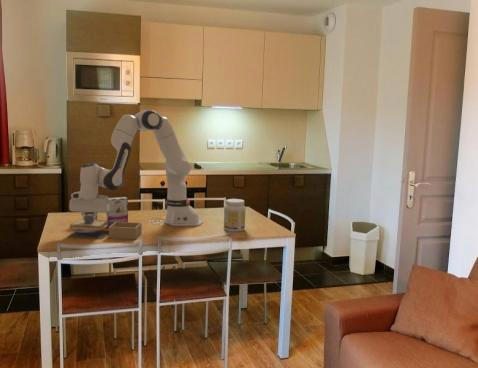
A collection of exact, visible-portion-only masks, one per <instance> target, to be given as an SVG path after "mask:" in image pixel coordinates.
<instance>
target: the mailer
mask: <svg viewBox="0 0 478 368" xmlns="http://www.w3.org/2000/svg"><path fill="white" fill-rule="evenodd" d="M142 225H143V224H142V222H133V221H128V222H115V223H113V224H112V225H111V226H110V227H109V228H108V231H109V234H108V239H115V240H116V239H119V240H137V239H138V238H139V237H140V236H141V235H142V234H143V233H142V231H143V230H142Z"/></svg>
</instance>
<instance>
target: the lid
mask: <svg viewBox="0 0 478 368" xmlns="http://www.w3.org/2000/svg"><path fill="white" fill-rule="evenodd" d="M92 217H94V214H88V215H86V216H85V220H83V218H79V219H77V220H76V221H74V222H72V223H71V224H70V225H69V228H70V230H78V229H83V230H102V229H104V228H105V227H107V224H108V221H107V219H105V220H103V219H97V220H95V221H92Z"/></svg>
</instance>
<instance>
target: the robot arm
mask: <svg viewBox="0 0 478 368" xmlns="http://www.w3.org/2000/svg"><path fill="white" fill-rule="evenodd" d="M138 131H139V132H141V131H143V132H145V131H146V132H147V131H151V132H153V134H154V136H155V137H154V138H155V139H156V142H157V145H158V147H159V150H160V151H161V153H162V155H163V157H164V158H165V161H164V170H165V175H166V177H165V178H166V184H167V196H166V197H167V198H166V203H165V204H166V205H165V206H166V214H165V219H164V222H163V223H165V224H166V225H170V226H173V227H178V226H179V227H181V226H182V227H191V226H192V227H196V226H197V227H198V226H202V224H203V219H201V218H200V216H199V212H198V211H197V210H196V209H195V208H194V207H192V206H191V205H190V203H191V202H190V201H191V200H190V199H188V198H187V184H186V179H185V177H187V176H188V175H189V174H190V172H191V170H192V169H191V168H192V167H191V164H190V162H189V161H188V159H187V157H186V155H185V153H184V151H183V149H182V147H181V145H180V144H179V141H178V138H177V135H176V132H175V130H174V128H173V126H172V124H171V122H170V120H169V119H168V118H167V117H165V116H162V115H160V114H159V113H158V112H157V111H155V110H151V109H150V110H149V109H148V110H146V109H145V110H141V111H137V112H135V113H133V114H122V115H121V118H120V119H119V120H118V121H117V123H116V125H115V127H114V130H113V132H112V133H111V137H110V142H111V145H112V147H114V149H115V150H116V158H115V160H114V163H113V167H112V168H111V169H108V168H105V167H101V166H100V165H98V164H97V163H95V162H88V163H85V164H82V166H81V168H80V171H79V172H80V173H79V182H80V190H78V191H75V192H73V193H71V194H70V197H71V198H70V199H69V204H68V207H69V211H70V212H75V213H76V212H78V213H80V214H81V215H82V219H83V220H85V214H84V213H85V212H94V214H95V215H94V217H92V221H95V220H96V216H97V217H98V214H107V212H108V211H109V198H110V197H109V196H108V195H105V194H99V187H102V188H105V189H108V190H109V191H110V190H111V191H116V190H118V189H120V188H121V187H122V186H123V183H124V178H125V176H124V175H125V171H126V168H127V165H128V162H129V158H130V155H131V149H132V142H133V140H134V138H135V135H136V133H137V132H138Z"/></svg>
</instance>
